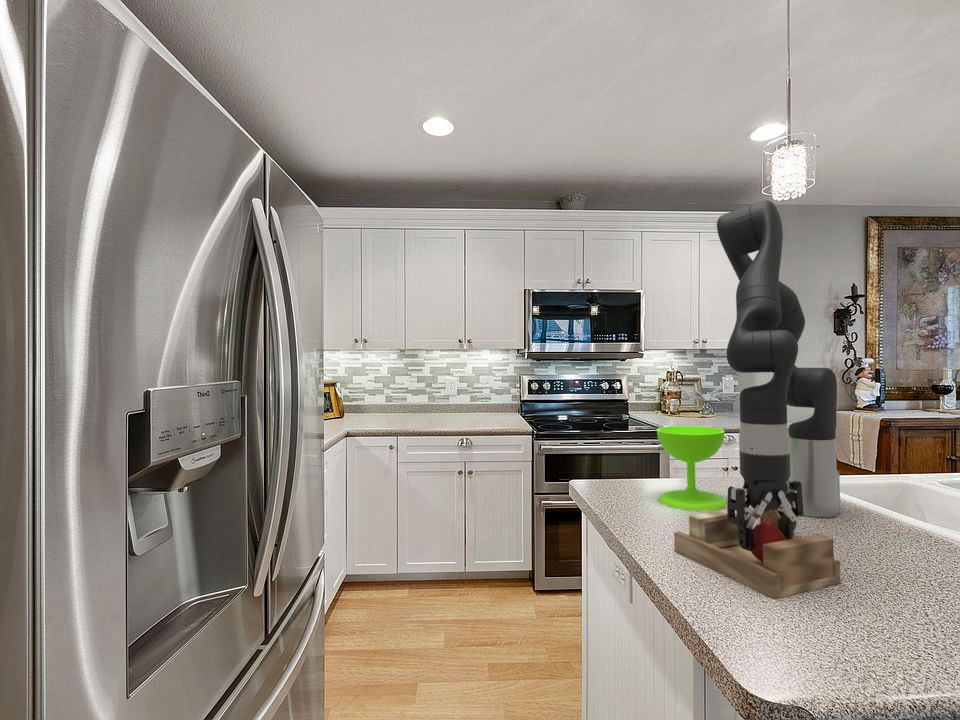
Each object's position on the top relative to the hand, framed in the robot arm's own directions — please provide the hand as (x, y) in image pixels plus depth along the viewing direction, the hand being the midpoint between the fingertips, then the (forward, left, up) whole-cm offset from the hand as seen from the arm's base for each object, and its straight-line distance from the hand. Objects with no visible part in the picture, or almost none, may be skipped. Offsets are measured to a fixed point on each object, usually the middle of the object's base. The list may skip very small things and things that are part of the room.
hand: (766, 545), depth 90 cm
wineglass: (-20, -40, -5) cm, 45 cm away
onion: (0, 0, -4) cm, 4 cm away
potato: (-18, -13, -5) cm, 23 cm away
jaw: (0, -11, -3) cm, 11 cm away
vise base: (0, -3, -5) cm, 6 cm away
